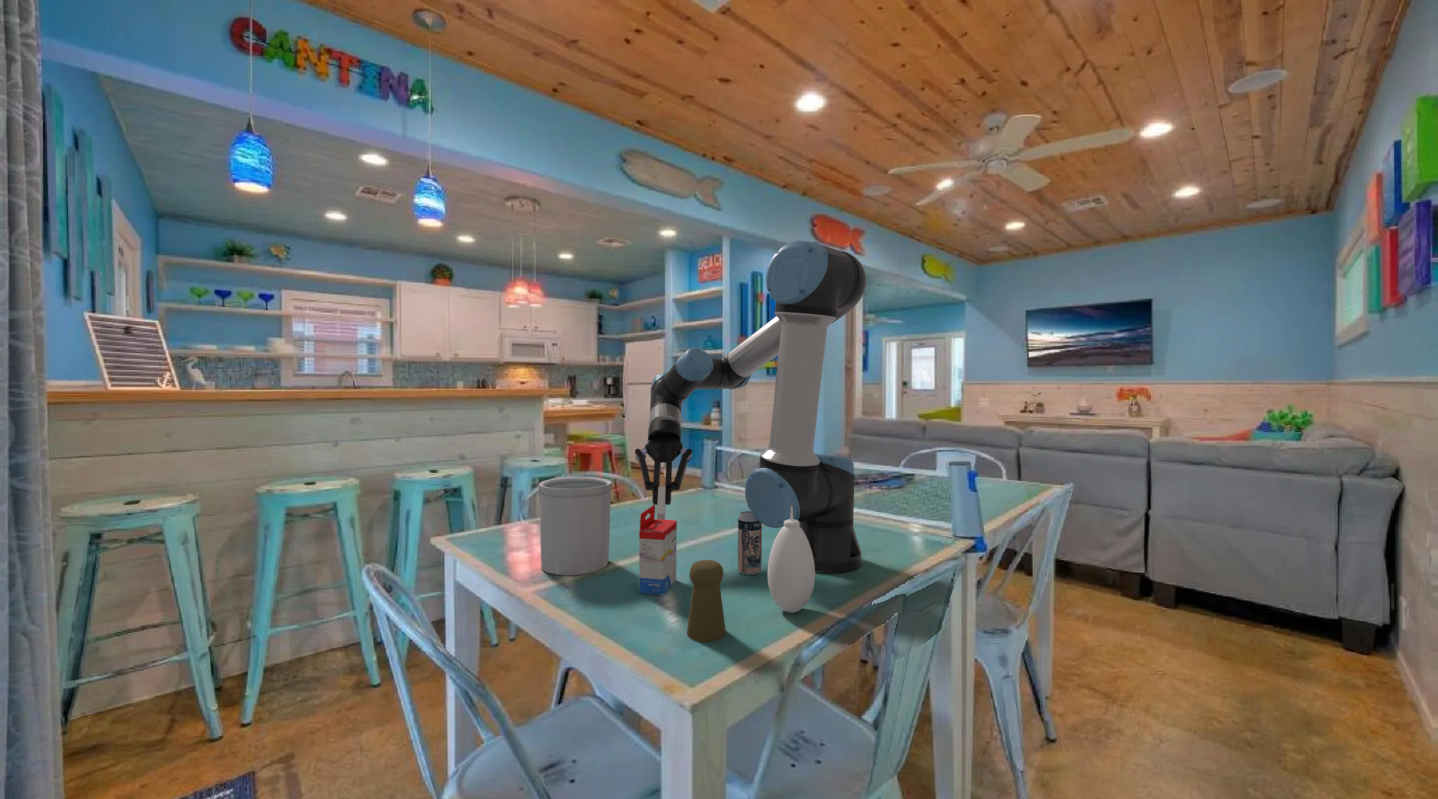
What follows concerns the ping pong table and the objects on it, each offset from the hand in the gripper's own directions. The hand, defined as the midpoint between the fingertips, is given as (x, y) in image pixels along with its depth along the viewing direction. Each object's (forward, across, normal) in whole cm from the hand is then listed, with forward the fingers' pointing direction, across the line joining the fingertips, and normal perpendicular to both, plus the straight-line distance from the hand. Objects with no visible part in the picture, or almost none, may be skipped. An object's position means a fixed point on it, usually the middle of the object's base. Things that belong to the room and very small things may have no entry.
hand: (660, 517), depth 113 cm
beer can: (+9, -18, -7) cm, 21 cm away
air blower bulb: (+23, -23, +7) cm, 33 cm away
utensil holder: (+5, +18, -11) cm, 22 cm away
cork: (+28, -8, +12) cm, 31 cm away
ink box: (+14, 0, -2) cm, 14 cm away
